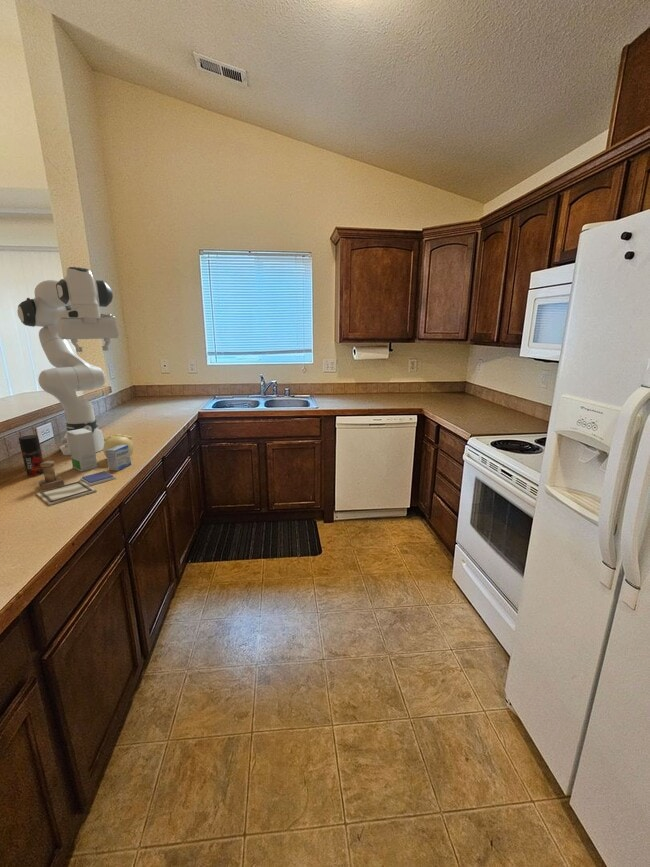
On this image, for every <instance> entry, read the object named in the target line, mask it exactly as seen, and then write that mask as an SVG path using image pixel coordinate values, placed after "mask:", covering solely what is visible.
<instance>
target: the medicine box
mask: <svg viewBox="0 0 650 867" xmlns="http://www.w3.org/2000/svg"><path fill="white" fill-rule="evenodd" d="M106 456H107V457H106ZM106 456H105V457H106V460H107V466H108V470H109V471H114V472H115V471H116V472H117V471H118V472H119V471H121V470H123V469H124V468H126V467H127V468H128V467H129V466H131V465H132V460H131V456H130V453H129V447H128V445H118V446H115V447H113V448H110V449H108V450H106Z"/></svg>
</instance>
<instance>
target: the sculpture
mask: <svg viewBox="0 0 650 867" xmlns="http://www.w3.org/2000/svg"><path fill="white" fill-rule="evenodd" d="M118 445H128V447H129V453H130V457H131V456H132V455H133V452H134V442H133V437H132V436H131V435H126V434H121V433H116V434H114V435H110V436H107V437H105V438H104V447H103V454H104V456H105V458H107V456H106V450H108V449H110V448H113V447H115V446H118Z"/></svg>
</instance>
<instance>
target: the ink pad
mask: <svg viewBox="0 0 650 867" xmlns="http://www.w3.org/2000/svg"><path fill="white" fill-rule="evenodd" d="M116 478H117V477H116V476H115V475H113V474H111V473H109V472H108V471H106V470H103V471H99V472H96V473H93V474H87V475H84V476H82V477H80V480H79V481H83V482H84V483H86V484H87V485H89V486H91V487H92V486H95V485H98V484H103V483H104V482H108V481H112V480H116Z"/></svg>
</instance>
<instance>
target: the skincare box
mask: <svg viewBox="0 0 650 867" xmlns="http://www.w3.org/2000/svg"><path fill="white" fill-rule="evenodd" d="M66 433H67V435H68V441H69V447H70V453H71V455H70V458H71V466H72V468H73V469H76V470H77V471H80V472H86V471H89V470H93V469H96V468H98V462H97V455H96V453H97V452H95V446H94V439H93V432H91V431H89V430H86V429H83V428H82V429H77V430H72V431H67V430H66Z"/></svg>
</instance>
